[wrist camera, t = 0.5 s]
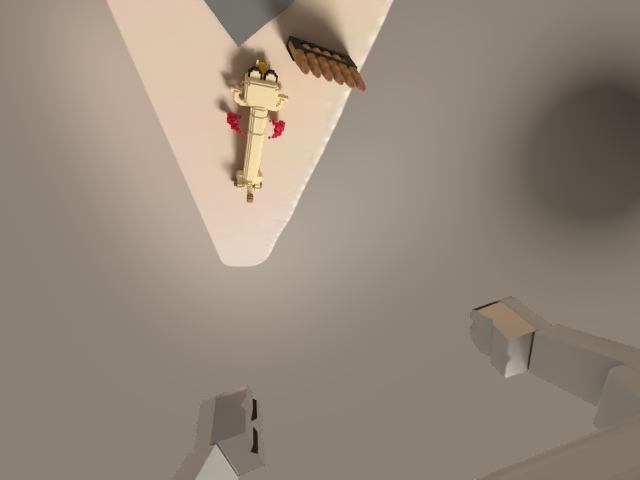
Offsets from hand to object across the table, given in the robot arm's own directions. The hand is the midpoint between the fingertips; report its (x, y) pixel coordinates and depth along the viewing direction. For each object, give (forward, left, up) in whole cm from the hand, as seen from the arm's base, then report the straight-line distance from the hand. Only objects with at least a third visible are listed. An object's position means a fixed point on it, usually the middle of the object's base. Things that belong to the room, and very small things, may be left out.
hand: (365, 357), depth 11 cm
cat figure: (+14, -12, -51) cm, 55 cm away
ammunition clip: (+10, +4, -51) cm, 52 cm away
